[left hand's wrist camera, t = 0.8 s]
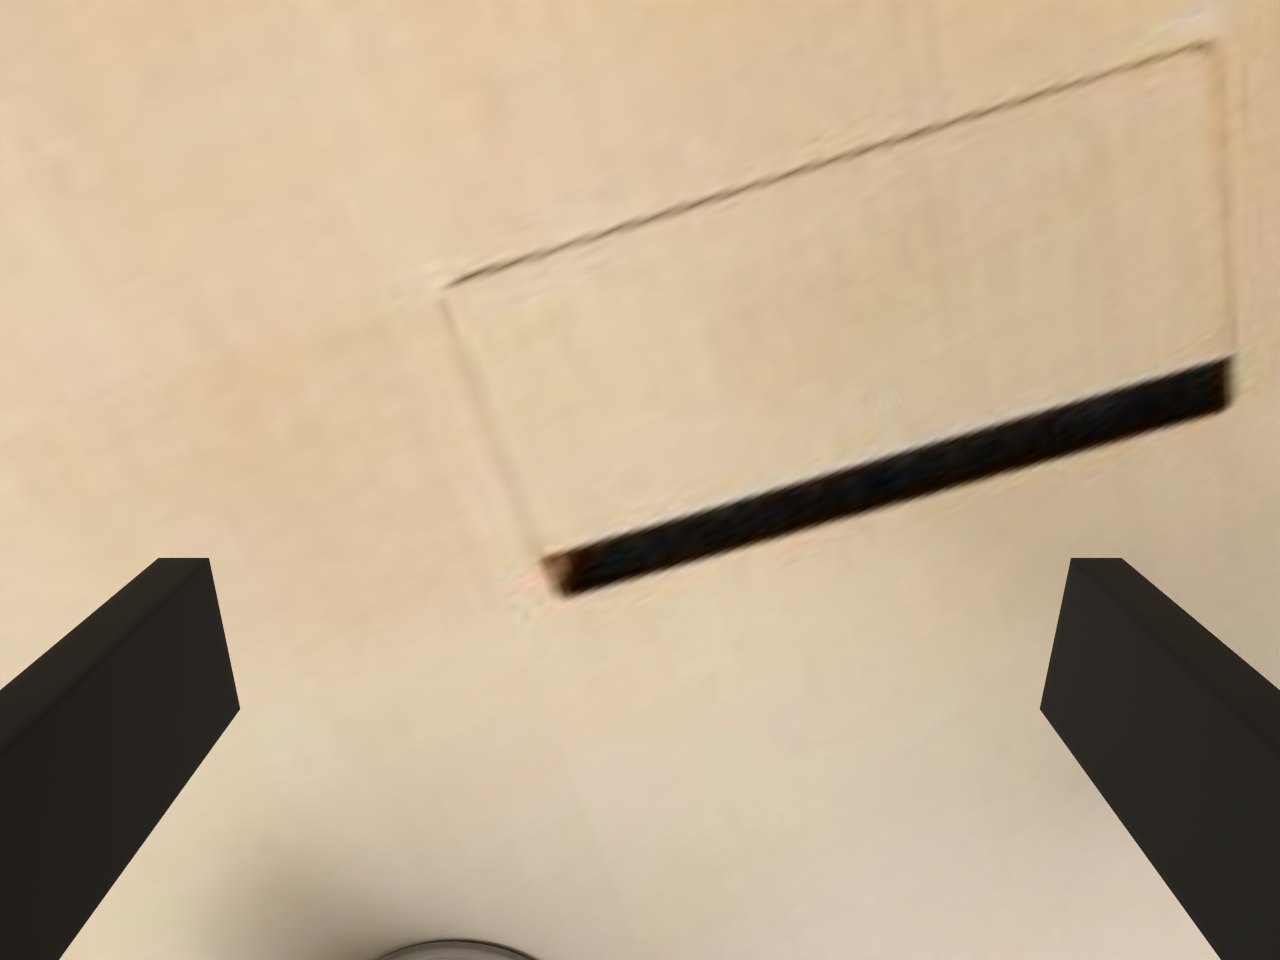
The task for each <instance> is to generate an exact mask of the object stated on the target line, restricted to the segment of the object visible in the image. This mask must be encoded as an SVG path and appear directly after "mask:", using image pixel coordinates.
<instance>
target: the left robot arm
mask: <svg viewBox="0 0 1280 960" xmlns="http://www.w3.org/2000/svg"><path fill="white" fill-rule="evenodd" d="M239 710H240V706H239V701H238V696H237V691H236V687H235V682H234V677H233V672H232V667H231V662H230V658H229V653H228V648H227V643H226V638H225V633H224V629H223V624H222V619H221V614H220V609H219V605H218V600H217V595H216V590H215V585H214V580H213V576H212V571H211V566H210V561H209V558H158V559H157V560H156V561H154V562H153V563H152V564H151V565H150V566H148V567H147V568H146V569H145V570H144V571H142V572H141V573H140V574H139V575H138V576H136V577H135V578H134V579H133V580H132V581H130V582H129V583H128V584H127V585H126V586H124V587H123V588H122V589H121V590H120V591H119V592H117V593H116V594H115V595H114V596H113V597H111V598H110V599H109V600H108V601H107V602H105V603H104V604H103V605H102V606H101V607H99V608H98V609H97V610H96V611H95V612H93V613H92V614H91V615H90V616H89V617H87V618H86V619H85V620H84V621H83V622H81V623H80V624H79V625H78V626H77V627H75V628H74V629H73V630H72V631H71V632H69V633H68V634H67V635H66V636H65V637H63V638H62V639H61V640H60V641H59V642H57V643H56V644H55V645H54V646H53V647H51V648H50V649H49V650H48V651H47V652H45V653H44V654H43V655H42V656H41V657H39V658H38V659H37V660H36V661H35V662H34V663H32V664H31V665H30V666H29V667H28V668H26V669H25V670H24V671H23V672H22V673H20V674H19V675H18V676H17V677H16V678H14V679H13V680H12V681H11V682H10V683H8V684H7V685H6V686H5V687H4V688H2V689H1V690H0V960H59V959H60V958H61V956H62V955H63V953H64V952H65V951H66V949H67V948H68V946H69V945H70V944H71V942H72V941H73V940H74V938H75V937H76V935H77V934H78V933H79V931H80V930H81V928H82V927H83V926H84V924H85V923H86V922H87V920H88V919H89V917H90V916H91V915H92V913H93V912H94V911H95V909H96V908H97V906H98V905H99V904H100V902H101V901H102V899H103V898H104V897H105V895H106V894H107V893H108V891H109V890H110V888H111V887H112V886H113V884H114V883H115V881H116V880H117V879H118V877H119V876H120V875H121V873H122V872H123V870H124V869H125V868H126V866H127V865H128V863H129V862H130V861H131V859H132V858H133V857H134V855H135V854H136V852H137V851H138V850H139V848H140V847H141V845H142V844H143V843H144V841H145V840H146V839H147V837H148V836H149V834H150V833H151V832H152V830H153V829H154V828H155V826H156V825H157V823H158V822H159V821H160V819H161V818H162V816H163V815H164V814H165V812H166V811H167V810H168V808H169V807H170V805H171V804H172V803H173V801H174V800H175V798H176V797H177V796H178V794H179V793H180V792H181V790H182V789H183V787H184V786H185V785H186V783H187V782H188V780H189V779H190V778H191V776H192V775H193V774H194V772H195V771H196V769H197V768H198V767H199V765H200V764H201V762H202V761H203V760H204V758H205V757H206V756H207V754H208V753H209V751H210V750H211V749H212V747H213V746H214V745H215V743H216V742H217V740H218V739H219V738H220V736H221V735H222V733H223V732H224V731H225V729H226V728H227V727H228V725H229V724H230V722H231V721H232V720H233V718H234V717H235V715H236V714H237V713H238V711H239ZM1040 710H1041V711H1042V713H1043V714H1044V715H1045V717H1046V718H1047V720H1048V721H1049V722H1050V724H1051V725H1052V727H1053V728H1054V729H1055V731H1056V732H1057V733H1058V735H1059V736H1060V738H1061V739H1062V740H1063V742H1064V743H1065V744H1066V746H1067V747H1068V749H1069V750H1070V751H1071V753H1072V754H1073V756H1074V757H1075V758H1076V760H1077V761H1078V762H1079V764H1080V765H1081V767H1082V768H1083V769H1084V771H1085V772H1086V774H1087V775H1088V776H1089V778H1090V779H1091V780H1092V782H1093V783H1094V785H1095V786H1096V787H1097V789H1098V790H1099V792H1100V793H1101V794H1102V796H1103V797H1104V798H1105V800H1106V801H1107V803H1108V804H1109V805H1110V807H1111V808H1112V810H1113V811H1114V812H1115V814H1116V815H1117V816H1118V818H1119V819H1120V821H1121V822H1122V823H1123V825H1124V826H1125V828H1126V829H1127V830H1128V832H1129V833H1130V834H1131V836H1132V837H1133V839H1134V840H1135V841H1136V843H1137V844H1138V845H1139V847H1140V848H1141V850H1142V851H1143V852H1144V854H1145V855H1146V857H1147V858H1148V859H1149V861H1150V862H1151V863H1152V865H1153V866H1154V868H1155V869H1156V870H1157V872H1158V873H1159V875H1160V876H1161V877H1162V879H1163V880H1164V881H1165V883H1166V884H1167V886H1168V887H1169V888H1170V890H1171V891H1172V893H1173V894H1174V895H1175V897H1176V898H1177V899H1178V901H1179V902H1180V904H1181V905H1182V906H1183V908H1184V909H1185V911H1186V912H1187V913H1188V915H1189V916H1190V917H1191V919H1192V920H1193V922H1194V923H1195V924H1196V926H1197V927H1198V928H1199V930H1200V931H1201V933H1202V934H1203V935H1204V937H1205V938H1206V940H1207V941H1208V942H1209V944H1210V945H1211V946H1212V948H1213V949H1214V951H1215V952H1216V953H1217V955H1218V956H1219V958H1220V959H1221V960H1280V690H1279V689H1278V688H1276V687H1275V686H1274V685H1273V684H1272V683H1270V682H1269V681H1268V680H1267V679H1266V678H1264V677H1263V676H1262V675H1261V674H1260V673H1258V672H1257V671H1256V670H1255V669H1254V668H1252V667H1251V666H1250V665H1249V664H1248V663H1246V662H1245V661H1244V660H1243V659H1242V658H1241V657H1239V656H1238V655H1237V654H1236V653H1235V652H1233V651H1232V650H1231V649H1230V648H1229V647H1227V646H1226V645H1225V644H1224V643H1223V642H1221V641H1220V640H1219V639H1218V638H1217V637H1215V636H1214V635H1213V634H1212V633H1211V632H1209V631H1208V630H1207V629H1206V628H1205V627H1203V626H1202V625H1201V624H1200V623H1199V622H1197V621H1196V620H1195V619H1194V618H1193V617H1191V616H1190V615H1189V614H1188V613H1187V612H1185V611H1184V610H1183V609H1182V608H1181V607H1179V606H1178V605H1177V604H1176V603H1175V602H1173V601H1172V600H1171V599H1170V598H1169V597H1167V596H1166V595H1165V594H1164V593H1163V592H1162V591H1160V590H1159V589H1158V588H1157V587H1156V586H1154V585H1153V584H1152V583H1151V582H1150V581H1148V580H1147V579H1146V578H1145V577H1144V576H1142V575H1141V574H1140V573H1139V572H1138V571H1136V570H1135V569H1134V568H1133V567H1132V566H1130V565H1129V564H1128V563H1127V562H1126V561H1124V560H1123V559H1122V558H1071V561H1070V566H1069V571H1068V576H1067V580H1066V585H1065V590H1064V595H1063V600H1062V605H1061V609H1060V614H1059V619H1058V624H1057V629H1056V634H1055V638H1054V643H1053V648H1052V653H1051V658H1050V662H1049V667H1048V672H1047V677H1046V682H1045V687H1044V691H1043V696H1042V701H1041V706H1040ZM378 960H529V959H527V958H525V957H523V956H521V955H518V954H516V953H513V952H510V951H508V950H504V949H501V948H497V947H494V946H489V945H484V944H478V943H470V942H434V943H426V944H420V945H415V946H411V947H407V948H404V949H401V950H398V951H395V952H393V953H391V954H388V955H386V956H384V957H382V958H380V959H378Z"/></svg>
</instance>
